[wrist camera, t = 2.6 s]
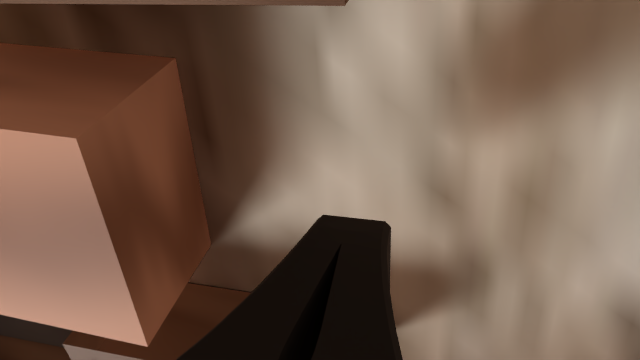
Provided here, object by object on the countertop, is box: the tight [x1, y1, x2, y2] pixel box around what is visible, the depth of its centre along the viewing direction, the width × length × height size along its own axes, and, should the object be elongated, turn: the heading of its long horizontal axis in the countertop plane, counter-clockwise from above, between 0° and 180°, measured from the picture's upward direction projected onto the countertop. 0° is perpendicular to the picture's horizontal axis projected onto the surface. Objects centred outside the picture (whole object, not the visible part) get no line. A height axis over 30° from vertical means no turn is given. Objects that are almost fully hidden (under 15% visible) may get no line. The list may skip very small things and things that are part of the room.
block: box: [0, 43, 211, 347], centre depth 13 cm, size 6×6×4 cm
